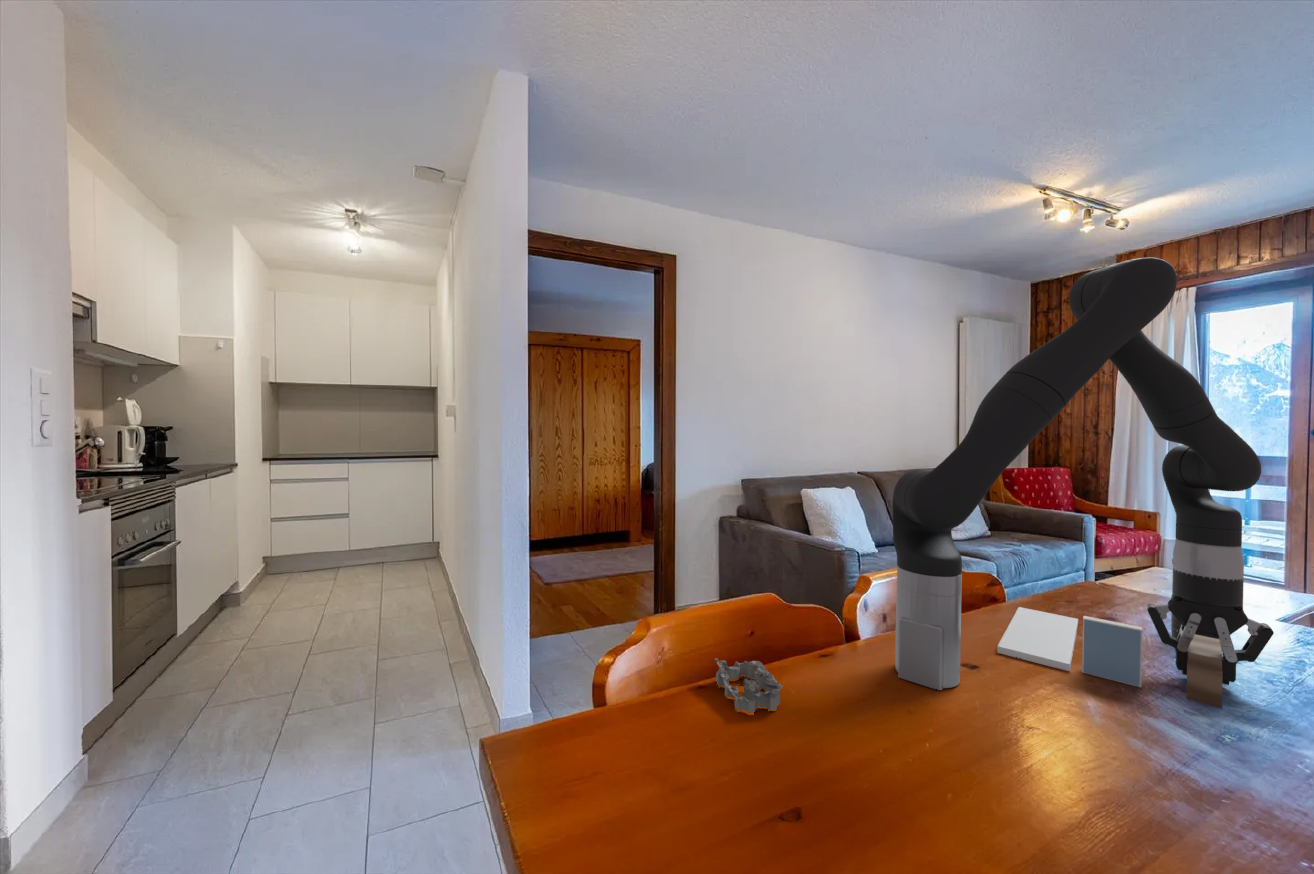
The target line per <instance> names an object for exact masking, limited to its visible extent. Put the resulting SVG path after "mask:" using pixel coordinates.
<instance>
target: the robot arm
mask: <svg viewBox="0 0 1314 874" xmlns="http://www.w3.org/2000/svg"><path fill="white" fill-rule="evenodd" d="M1177 277H1178V276H1177V272H1176V270H1175V267H1174V266H1173V265H1172V264H1171V263H1169V262H1168V261H1167V260H1165V259H1161V258H1157V257H1150V256H1149V257H1139V258H1134V259H1127V260H1124V261H1121V262H1117V263H1113V264H1111V265H1107V266H1104V267H1100V268H1098V269H1095V270H1092V271H1090V272H1088V273H1084V274H1083V275H1082V276H1080V277H1079V278H1078V279H1077V280H1076V281H1075V282H1074V283H1073V284H1072V287H1071V289H1070V290H1069V291H1070V292H1069V293H1068V294H1069V295H1068V296H1069V297H1068V302H1069V303H1068V304H1069V308H1070V310H1071V313H1072V315H1073V316H1074V317H1075V319H1076V321H1075V322H1074V323H1073V324H1072V325H1070V326H1069V327H1068V328H1066V329H1065V330H1064V331H1063V332H1060V333H1059V334H1058V335H1056V336H1055V337H1054V338H1051V340H1048V341H1047V342H1045V343H1044V344H1043V345H1041V346H1039V347H1038V348H1036V349H1035V350H1033V351H1032V352H1030V353H1029V354H1027V355H1026V356H1024V357H1023V358H1021V360H1019V361H1018V362H1017V363H1015V364H1013V366H1011V367H1010V368H1009V370H1007V371H1006V372H1005V374H1004V375H1002V377H1001V378H1000V379H999V380H998V381H997V382H996V384H995V385H994V386H993V387H991V389H990V390H989V391H988V392H987V394H986V395H985V396H984V398H983V399H982V400H981V402H980V404H979V405H978V408H977V410H976V412H975V414H974V417H973V418H972V422H971V424H970V427H969V429H968V432H967V434H966V435H965V436H964V438H963V440H961V442H960V443H959V444H958V446H957V447H956V448H955V449H954V450H953V451H952V452H950V454H949V455H948V456H947V457H946V458H945V459H944V460H942V462H941V463H940V464H938V465H937V466H936V467H935V468H933V469H927V468H919V469H918V468H917V469H913V470H909V471H907V472H905V473H904V474H903V475H902V476H901V477H900V478H899V479H898V481H897V482H896V483H895V486H894V489H893V493H892V494H893V495H892V541H893V547H894V549H895V550H894V551H895V552H896V601H895V602H896V604H895V607H896V608H895V609H896V610H895V661H894V662H895V665H894V666H895V671H896V672H897V677H898V678H899V679H903V680H905V681H909V682H911V683H914V684H918V685H921V686H924V687H928V688H930V689H933V690H936V689H937V691H939V690H941V691H943V690H944V689H951V688H955V687H957V686H958V685H959V684H961V683H960V681H961V641H962V640H961V636H962V635H961V634H962V633H961V630H962V593H963V591H962V588H963V587H962V582H963V574H962V573H963V558H962V556H961V554H960V552H959V550H958V549H957V547H956V544H955V543H954V539H953V536H952V535H953V534H952V533H953V532H952V529H955V528H957V527H959V526H960V525H961V524H963V523H964V522H965V521H966V520H967V519H968V518H969V517H970V516H971V515H972V514H973V512H974V511H975V509H976V508H977V506H978V505H980V503H981V501H982V500H983V498H984V497H985V496H986V494H987V493H988V492H989V490H990V489H991V488H992V486H994V484H995V482H996V481H997V480H998V478H999V477H1000V476H1001V475H1002V474H1003V472H1004V471H1005V470H1006V469H1007V468H1008V467H1009V466H1010V465H1011V464H1012V462H1013V461H1014V460H1015V459H1016V458H1017V457H1018V456H1020V454H1021V453H1022V452H1023V451H1024V450H1025V449H1026V448H1027V447H1028V446H1029V445H1030V443H1032V441H1033V440H1034V439H1035V438H1036V437H1038V435H1039V434H1040V433H1041V432H1042V431H1043V430H1044V429H1045V428H1047V426H1049V425H1050V423H1051V422H1052V421H1053V420H1054V419H1055V418H1056V417H1057V416H1058V415H1059V413H1060V412H1062V410H1063V409H1064V408H1065V407H1066V406H1067V405H1068V403H1070V401H1071V400H1072V399H1073V397H1074V396H1076V394H1077V393H1078V392H1079V391H1080V390H1081V389H1082V388H1083V387H1084V386H1085V385H1086V383H1088V382H1089V381H1090V380H1091V378H1093V376H1094V375H1096V374H1097V373H1098V372H1099V370H1100V369H1101V368H1102V367H1103V366H1104V365H1105V363H1107V361H1109V360H1110V362H1111V363H1112V364H1113V366H1115V368H1116V369H1117V370H1118V372H1119V373H1120V375H1122V377H1123V378H1124V379H1125V381H1126V382H1127V383H1128V385H1129V386H1130V388H1131V389H1132V391H1133V393H1134V394H1135V396H1136V398H1137V399H1138V402H1140V404H1141V406H1142V408H1143V409H1144V412H1145V413H1146V415H1147V418H1148V420H1149V421H1150V423H1151V425H1152V427H1153V429H1154V430H1155V432H1156V433H1157V435H1158V436H1159V437H1160V438H1161V439H1164V440H1165V441H1167V442H1173V443H1176V444H1180V445H1177V446H1175V447H1172V448H1171V449H1169V451H1168V452H1167V453H1166V455H1165V456H1164V458H1163V461H1162V463H1161V464H1162V465H1161V466H1162V467H1161V470H1162V472H1161V473H1162V477H1163V480H1164V481H1163V482H1164V484H1165V486H1166V490H1167V492H1168V495H1169V499H1170V501H1171V504H1172V506H1173V509H1174V512H1175V541H1174V542H1175V543H1174V546H1173V552H1172V559H1171V564H1172V585H1171V586H1172V587H1171V590H1172V591H1171V592H1172V593H1171V596H1172V598H1171V597H1170V600H1169V601H1168V602H1167V604H1154V603H1148V604H1147V605H1146V609H1147V612H1148V616H1149V617H1150V620H1151V621H1152V624H1153V626H1154V628H1155V630H1156V633H1157V634H1158V636H1159V638H1160V641H1161V642H1162V644H1164V645H1167V646H1170V647H1172V648H1174V649H1175V660H1174V661H1175V666H1176V669H1177V670H1179V671H1181V674H1182V675H1185V676H1187V661H1188V652H1189V645H1190V643H1191V641H1192V640H1193V637H1194V635H1195V634H1207V635H1210V636H1213V637H1216V638H1218V639H1219V642H1220V645H1221V648H1222V649H1221V650H1222V672H1223V680H1222V685H1227V686H1230V683H1236V682H1235V681H1236V680H1237V663H1239V662H1249V663H1254V662H1255V661H1256V660H1257V659H1258V657H1259V656H1260V655H1261V652H1262V651H1263V650H1264V649H1265V647H1266V646H1267V644H1268V643H1269V641H1270V640H1271V638H1272V637H1273V636H1274V631H1273V629H1272V627H1271V626H1270V625H1269V624H1267V623H1264V622H1258V621H1255V620H1253V619H1251V618H1248V616H1247V614H1246V613H1245V611H1244V582H1245V581H1244V579H1245V578H1244V576H1245V575H1244V572H1245V571H1244V570H1245V567H1244V566H1245V563H1244V562H1245V560H1244V555H1243V554H1244V553H1243V549H1242V548H1243V546H1242V545H1243V544H1242V543H1243V541H1242V540H1243V518H1242V514H1241V512H1240V511H1239V510H1237V509H1235V508H1233V507H1230V506H1228V505H1226V504H1225V505H1224V504H1221V503H1219V502H1217V501H1215V500H1214V498H1213V497H1212V494H1211V493H1210V491H1211V490H1212V491H1213V490H1214V491H1222V492H1243V491H1246V490H1248V489H1250V488H1252V487H1254V486H1255V485H1256V484H1257V483H1258V482H1259V480H1260V478H1261V474H1262V463H1261V461H1260V458H1259V456H1258V455H1257V453H1256V451H1255V450H1254V449H1253V448H1252V447H1251V446H1250V445H1249V444H1248V443H1247V441H1245V440H1244V439H1243V437H1240V435H1239V434H1238V433H1236V432H1235V430H1234V429H1232V428H1231V427H1230V425H1228V424H1227V423H1226V422H1225V421H1224V420H1222V419H1221V418H1220V416H1218V414H1217V413H1216V410H1215V408H1214V407H1213V405H1212V403H1211V401H1210V400H1209V397H1208V396H1207V393H1206V392H1205V389H1204V388H1203V387H1202V385H1201V383H1200V382H1199V381H1198V380H1197V378H1195V376H1194V375H1193V374H1192V373H1191V372H1190V371H1189V370H1188V369H1186V368H1185V367H1184V366H1183V365H1182V364H1180V362H1178V361H1176V360H1175V359H1174V358H1172V357H1170V356H1169V355H1168V354H1167V353H1165V352H1164V351H1163V350H1161V349H1160V348H1159V347H1158V345H1156V344H1155V343H1153V341H1152V340H1150V339H1149V337H1148V336H1147V335H1146V334H1145V333H1144V331H1143V330H1144V328H1145V327H1147V326H1148V325H1149V324H1150V323H1151V322H1152V321H1153V320H1155V319H1156V318H1157V317H1158V316H1159V315H1160V314H1161V313H1162V312H1163V311H1164V310H1165V308H1166V307H1168V305H1169V304H1170V303H1171V301H1172V299H1173V297H1174V295H1175V292H1176V289H1177V284H1178V278H1177ZM1169 612H1170V614H1171V613H1172V614H1173V615H1174V616H1175V617H1176V618H1177V619H1178V621H1179V622H1180V623H1181V624H1182V625H1181V628H1180V631H1179V635H1178V637H1177V638H1175V637H1172V635H1170V632H1169V631H1168V629H1167V626H1166V624H1165V621H1164V620H1166V619H1167V618H1168V614H1167V613H1169ZM1245 625H1246V626H1247V632H1248V633H1249V637H1248V639H1247V640H1246V642H1245V643H1244V645H1243V647H1242V648H1241V649H1235V646H1234V644H1233V639H1232V637H1231V635H1232V634H1234V633H1235V632H1237V631H1239V629H1241V628H1242V627H1244V626H1245Z"/></svg>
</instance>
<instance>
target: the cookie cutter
mask: <svg viewBox="0 0 1314 874" xmlns="http://www.w3.org/2000/svg"><path fill="white" fill-rule="evenodd" d="M714 661H715V662H716V664H717V665H718V670H717V671H716V674H715V681H716V682H717V684H718V685H719V686H724V687H725V689H724V696H725V695H726V696H727V697H732V698H735V701H734V700H733V702H734V706H735V708H736V709H737V710H745V711H747V712H748V713H752V712H755V713H756V710H755V708H757V707H759V706H760V707H766V708H767V709H769V710H776V709H777V708H778V707H777V704H780V705H781V689H783V688H784V685H782V684H781V683H779V682H778V680H777V679H775V675H773V674H771V673H770V672H769V670H767V668H766V667H765V665H764V664H763V663H762V661H759V660H752V661H746V660H744V661H743V662H739V661H735V662H734V665H733V666H728V663H727V661H726V660H719V658H717V657H714ZM741 675H745V676H746V677H748V678H754V679H753V680H752V679H748V678H746V677H745V678H744V679H743V685H744V693H743V696H742V695H740V693H739V690H738V686H737V685H738V684H737V685H735V686H733V685H730V682H729V678H730V679H732V680H737V679H739V678H740V679H741V677H740V676H741ZM716 682H715V683H716ZM717 684H716V685H717ZM760 689H765V690H764V691H761V690H760ZM734 706H733V707H734ZM777 710H778V709H777Z"/></svg>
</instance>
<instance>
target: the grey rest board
mask: <svg viewBox="0 0 1314 874" xmlns="http://www.w3.org/2000/svg"><path fill="white" fill-rule="evenodd" d="M1078 627H1079V618H1076V617H1071V616H1066V615H1061V614H1056V613H1051V612H1045V611H1041V610H1036V609H1032V608H1031V609H1030V608H1026V607H1020V606H1018V608H1017V609H1016V611H1015V614H1014V615H1013V617H1012V618H1011V620H1010V622H1009V624H1008V626H1007V628H1006V629H1005V631H1004V633H1003V635H1002V637H1001V638H1000V640H999V642H998V644H997V647H996V648H997V650H996V651H997V652H996V653H997V654H999V655H1000V654H1002V655H1005V656H1009V657H1012V658H1016V657H1017V658H1016V659H1020V658H1021V659H1020V660H1024V661H1028V662H1032V663H1036V664H1039V665H1044V666H1047V667H1050V668H1051V667H1052V668H1055V669H1059V670H1061V671H1062V670H1063V671H1067V672H1070V671H1071V669H1072V663H1073V662H1072V661H1073V654H1074V651H1075V645H1076V638H1077V633H1078Z"/></svg>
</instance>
